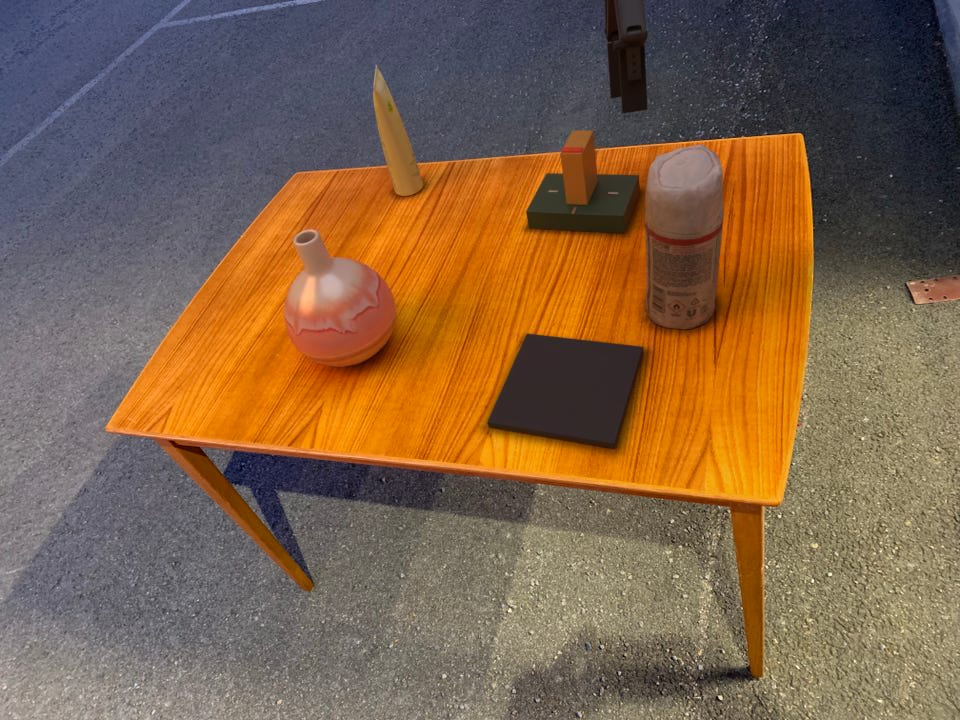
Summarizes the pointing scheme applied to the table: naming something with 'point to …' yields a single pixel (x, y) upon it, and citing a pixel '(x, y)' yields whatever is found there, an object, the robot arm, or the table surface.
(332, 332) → the vase
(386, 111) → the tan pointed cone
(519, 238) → the table surface
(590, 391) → the mat
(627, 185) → the green rectangular block
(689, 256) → the spray can
